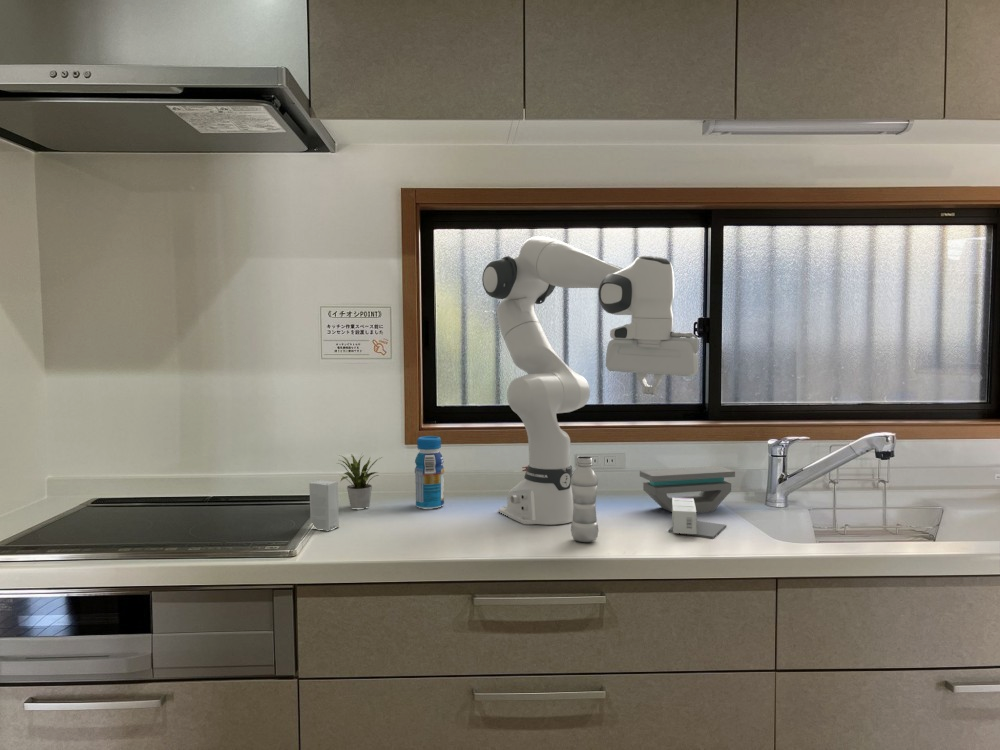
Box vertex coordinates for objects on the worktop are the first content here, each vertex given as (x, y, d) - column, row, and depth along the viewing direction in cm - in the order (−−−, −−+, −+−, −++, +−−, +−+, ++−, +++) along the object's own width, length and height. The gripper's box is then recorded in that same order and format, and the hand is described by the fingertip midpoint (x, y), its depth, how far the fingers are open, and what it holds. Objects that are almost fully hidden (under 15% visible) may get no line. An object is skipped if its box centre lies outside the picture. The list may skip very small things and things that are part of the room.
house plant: (319, 511, 189) (318, 453, 188) (348, 500, 201) (347, 446, 200) (362, 516, 183) (361, 456, 182) (389, 504, 196) (388, 449, 195)
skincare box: (339, 527, 172) (338, 481, 171) (328, 532, 168) (327, 485, 167) (320, 525, 174) (319, 479, 174) (309, 529, 171) (308, 482, 170)
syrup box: (697, 511, 161) (695, 497, 175) (671, 510, 163) (671, 496, 177) (697, 534, 161) (695, 519, 176) (671, 533, 163) (672, 518, 177)
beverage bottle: (409, 507, 192) (408, 438, 191) (427, 501, 199) (426, 434, 198) (432, 511, 187) (431, 440, 186) (450, 505, 194) (449, 436, 193)
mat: (713, 538, 160) (713, 536, 160) (668, 531, 166) (668, 529, 166) (726, 526, 170) (726, 524, 170) (683, 520, 176) (683, 518, 176)
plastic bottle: (581, 546, 155) (581, 461, 154) (565, 539, 161) (565, 456, 160) (604, 542, 158) (604, 458, 156) (587, 535, 164) (587, 454, 162)
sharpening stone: (652, 516, 181) (652, 476, 181) (639, 508, 189) (639, 470, 188) (734, 510, 187) (735, 471, 186) (719, 503, 195) (719, 466, 194)
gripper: (703, 332, 143) (701, 396, 144) (615, 329, 154) (613, 388, 156) (694, 333, 138) (692, 399, 139) (603, 330, 149) (601, 391, 150)
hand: (649, 394), depth 148 cm, fingers closed
